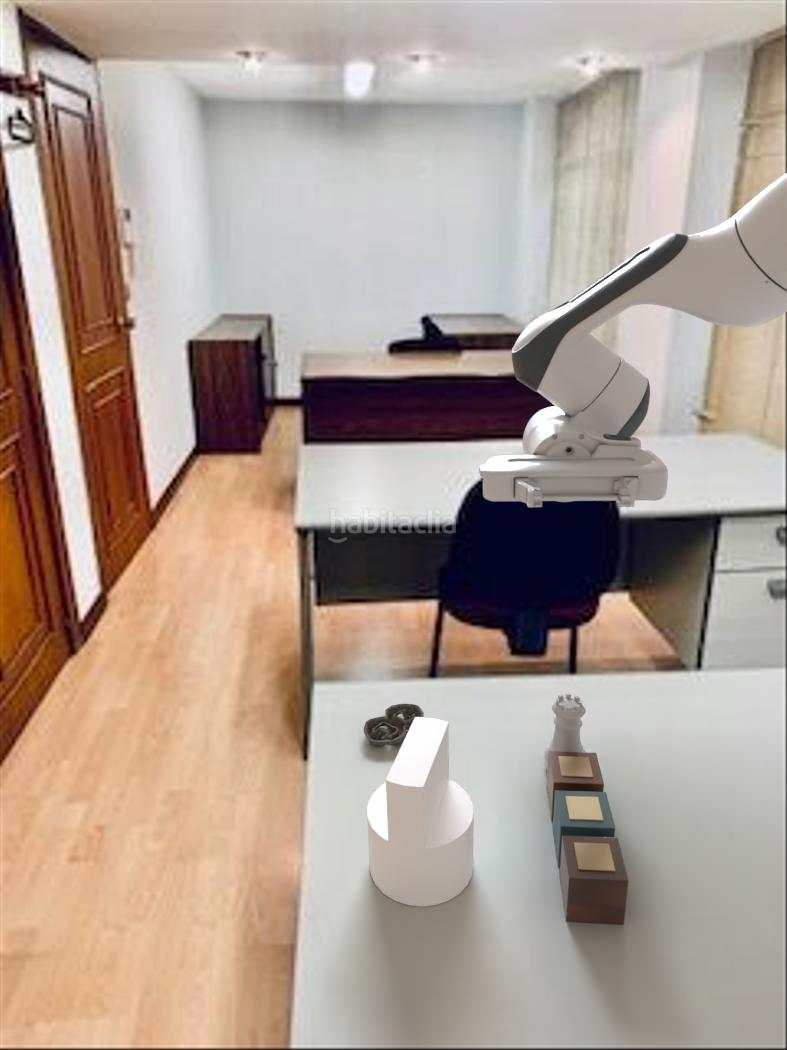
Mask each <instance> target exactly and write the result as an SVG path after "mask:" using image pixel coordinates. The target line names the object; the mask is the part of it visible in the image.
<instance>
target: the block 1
mask: <svg viewBox="0 0 787 1050" xmlns="http://www.w3.org/2000/svg"><path fill="white" fill-rule="evenodd" d="M546 771H547V773H546V795H547V802H548V809H549V815H550V821H551V823H553V814H554V796H555V790H559V791H588V792H604V791H605V790H604V788H605V782H604V778H603V775H602V771H601V766H600V763H599V758H598V755H597V753H596V752H587V751H585V752H555V751H549V752H548V770H546Z"/></svg>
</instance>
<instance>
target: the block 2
mask: <svg viewBox="0 0 787 1050" xmlns="http://www.w3.org/2000/svg"><path fill="white" fill-rule="evenodd" d="M559 884H560V889H561V891H560V892H561V896H562V897H561V898H562V904H563V909H564V910H563V912H564V917H565V922H567V923H569V922H570V923H585V924H587V923H589V924H604V925H605V924H606V925H624V924H625V917H626V911H627V909H626V908H627V899H628V888H629V877H628V873H627V870H626V865H625V861H624V857H623V853H622V850H621V845H620V842H619V838H618V837H614V838H612V837H587V836H562V845H561V861H560V868H559Z"/></svg>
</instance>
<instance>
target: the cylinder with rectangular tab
mask: <svg viewBox="0 0 787 1050" xmlns="http://www.w3.org/2000/svg"><path fill="white" fill-rule="evenodd" d="M449 725H450V723H449V721H447V720H444V719H439V718H435V717H427V716H426V717H425V716H424V717H415V718H414V720H413V722H412V725H411V727H410V729H409V730H407V733H406V734H405V735H406V736H404V740H403V741H402V744H401V746H400V748H399V750H398V753H397V755H396V757H395V759H394V761H393V764H392V765H391V767H390V770H389V772H388V774H387V775H386V779H385V782H383V784H381V785H380V786H379V787H378V788H377V789H376V790H374V792H373V793H372V795H371V796H370V798H369V799H368V803H367V807H366V819H367V837H368V840H367V841H368V858H369V860H368V861H369V869H370V870H369V872H370V876H371V878H372V881H373V883H374V885H375V886H376V887H377V888H378V890H379V891H380V892H381V893H382V894H383V895H385V896H386V897H388V898H390V899H391V900H392V901H395V902H397V903H401V904H403V905H406V906H413V907H422V908H423V907H431V906H437V905H441V904H444V903H447V902H449V901H451V900H452V899H453V898H456V897H457V896H459V895H460V894H461V893H462V892H463V891H464V889H466V887H467V886H469V883H470V880H471V878H472V876H473V872H474V871H473V870H474V826H475V825H474V824H475V823H474V822H475V819H474V818H475V817H474V815H475V814H474V813H475V811H474V810H475V809H474V805H473V801H472V798H471V797H470V795H469V794H468V793H467V791H466V790H465V789H464V788H463V787H462V786H461V785H459V784H458V783H456V782H455V781H453V780H451V779H450V744H449V743H450V742H449V741H450V739H449V738H450V737H449V735H450V733H449V732H450V729H449V728H450V727H449Z"/></svg>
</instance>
